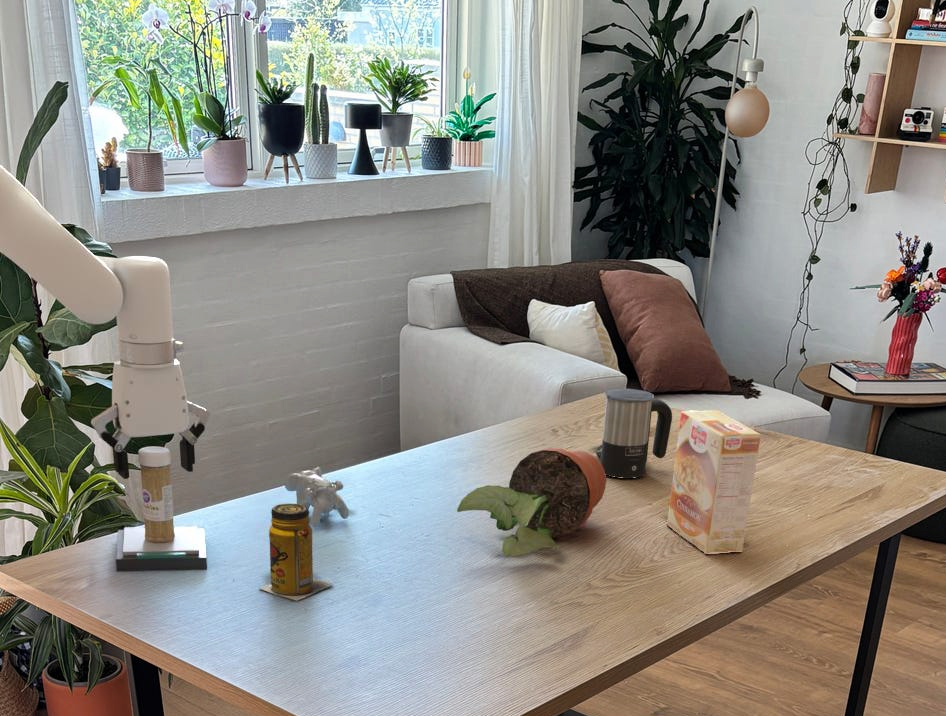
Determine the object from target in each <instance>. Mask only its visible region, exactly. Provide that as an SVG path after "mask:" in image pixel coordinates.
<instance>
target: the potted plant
mask: <svg viewBox="0 0 946 716" xmlns="http://www.w3.org/2000/svg"><path fill="white" fill-rule="evenodd" d="M606 486H607V476H606V475H605V471H604V469H603V467H602V465H601V462H600V460H599V458H598V457H596V456H595V455H594V454H591V453H589V452H587V451H582V450H566V449H563V448H556V447H555V448H553V447H549V448H545V449H541V450H538V451H534V452H531V453H530V454H528V455H527V456H525V457H524V458H523V459H521V460H519V462H518V464H517V465H516V466H515V468H514V469H513V471H512V473H511V478H510V480H509V483H508V487H507V486H501V485H490V484H489V485H484V486H481V487H477V488H475V489H473V490H472V491H471V492H469V493H467V495H465V497H463V498H462V499H461V501H460V503H459V505H458V506H457V508H456V511H457V513H461V512H467V511H468V512H469V511H485V512H489V513H490V519H493V520H495V521H496V523H495V524H496V525H495V527H496V528H497V530H498V531H500V530H501V531H503V532H509V531H511V530H513V529H515V527H516V526H517V525H518V524H520V525H519V526H518V527H517V529H516V532H515V535H514V534H511V535H509V536H507V537H506V538H505V539H504V540H503V542H502V553H503V554H504V556H505V557H512V558H515V557H518V556H525V555H527V554H528V553H532V552H534V551H537V550H540V549H543V548H551V547H552V548H554V549H557V550H558V546H557V543H556V542H555V541H554V539H555V538H559V537H564V536H567V535H569V534H572V533H573V532H574V531H577V529H579V528H581V527H582V526H584V524H586V521H587V520H588V519H589V518H590V517H591V515H592V512H593V509H594V508H595V507H596V506H598V504H599V503H600V502H601V500H602V499H603V496H604V494H605V492H606V491H605V490H606ZM553 537H555V538H553Z"/></svg>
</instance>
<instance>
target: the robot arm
mask: <svg viewBox="0 0 946 716" xmlns="http://www.w3.org/2000/svg"><path fill="white" fill-rule="evenodd" d="M0 254H2V255H4V256H5V257H6V258H8V259H9V260H11V261H12V263H14V264H15V265H17V266H18V267H19V268H20V269H21V270H23V272H25V273H26V274H27V275H28V276H29V277H30V278H32V279H33V280H34V281H35V282H36V283H37V284H39V285H40V286H41V287H42V288H43V289H44V290H45V291H46V292H48V293H49V294H50V295H51V296H52V297H53V298H54V299H56V300H57V301H58V302H59V303H60V304H61V305H62V306H63V307H65V308H66V309H67V310H68V311H69V312H70V313H72V314H73V315H74V316H75V317H76V318H77V319H78V320H81V321H82V322H84V323H86V324H90V325H102V324H106V323H109V322H110V321H112V320H114V319H115V318H116V328H117V338H118V339H117V340H118V351H119V353H118V354H119V360H116V361H114V363H113V370H112V380H111V381H112V384H111V406H110V407H108V408H106V410H104V411H102V412H100V413H99V414H97V415H96V416H94V417H93V418H92V419H91V420H90V423H91V425H92V427H93V428H94V430H95V432H96V433H97V435H98V436H99V438H100V439H101V440H102V441H104V443H106V444H107V445H108V446H109V447H111V448H112V458H113V468H114V471H115V472H116V473H117V474H118V475H119V476H120V477H121V478H122V479H124V480H128V479H130V467H129V454H128V451H126V450H125V447H126V446H127V444H128V443H129V441H130V440H131V438H143V437H153V436H164V435H174V434H178V435H179V436H180V437H181V439H180V440H179V457H180V467H181V468H183V469H184V470H185V471H187V472H188V473H192V472H194V465H195V464H196V453H195V445H196V444H197V442H198V439H199V438H200V436H202V434H203V433H204V432H205V429H206V425H207V424H208V421H209V419H210V416H211V412H210V411H209V410H208V409H206V408H204V407H201V406H199V405H198V404H195V403H193V402H191V401H188V397H187V391H186V385H185V381H184V376H183V372H182V368H181V365H180V361H178V360H177V354H179V352H180V353H181V352H182V353H183V352H184V350H185V347H184V343H183V341H177V340H176V339H175V338H174V327H173V326H174V325H173V324H174V323H173V311H172V310H173V309H172V294H171V278H170V277H171V276H170V269H169V267H168V264H167V263H166V262H165V261H164V260H163V259H160V258H158V257H153V256H146V255H145V256H144V255H133V256H131V255H130V256H124V257H109V256H100V255H94V254H93V252H92V251H90V250H89V249H88V248H87V247H86V246H85V245H84V244H83V243H82V242H80V241H79V240H78V239H77V237H75V236H74V235H73V234H72V233H70V231H68V230H67V229H66V228H65V227H64V226H63V225H62V224H61V223H60V222H58V220H57V219H55V217H53V216H52V214H51V213H49V211H47V210H46V209H45V208H44V206H42V205H41V203H40V202H39V201H38V199H36V197H34V195H33V194H32V193H31V192H30V191H29V190H28V189H27V188H26V187H25V186H24V185H23V184H22V183H21V182H20V181H19V180H18V179H17V178H16V177H14V175H12V174H11V173H10V172H9V171H8V170H7V169H6V168H4V167H3V165H1V164H0ZM189 413H190V414H194V415H196V418H195V421H194V422H193V424H192V425H191V426H190V425H189V424H190V415H189ZM110 422H112V423H113V426H114V428H115V429H116V430H115V432H114V433H113V435H111V433H109V431H108V430H107V428H106V425H107V424H108V423H110ZM189 426H190V427H189Z"/></svg>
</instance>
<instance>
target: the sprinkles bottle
mask: <svg viewBox="0 0 946 716" xmlns="http://www.w3.org/2000/svg"><path fill="white" fill-rule="evenodd" d="M137 452H138V453H137V456H138V463H139V466H140V479H141V491H142V492H141V497H142V499H141V500H142V512H143V513H142V514H143V521H144V527H145V538H146V539H147V540H148V541H151V542H158V543H162V542H168V541H170V540H173V539H174V538H175V534H174V527H175V523H174V503H173V487H172V479H171V462H172V460H171V452H170V449H169V448H166V447H163V446H145V447H142V448H139V450H138V451H137Z"/></svg>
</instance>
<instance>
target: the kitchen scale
mask: <svg viewBox="0 0 946 716" xmlns="http://www.w3.org/2000/svg"><path fill="white" fill-rule="evenodd" d="M174 534H175V538H174V539H173V540H170V541H168V542H162V543H158V542H151V541H148V540H147V539H146V538H145V526H127V527H125V526H124V527H123V529H118V530H117V538H116V552H115V567H116V572H132V571H133V572H134V571H136V572H137V571H138V572H139V571H174V570H175V571H177V570H179V571H181V570H208V561H207V560H208V559H207V548H206V547H207V546H206V537H205V528H198V526H197V525H190V526H189V525H188V526H187V525H185V526H184V525H183V526H182V525H181V526H179V525H178V526H174Z"/></svg>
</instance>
